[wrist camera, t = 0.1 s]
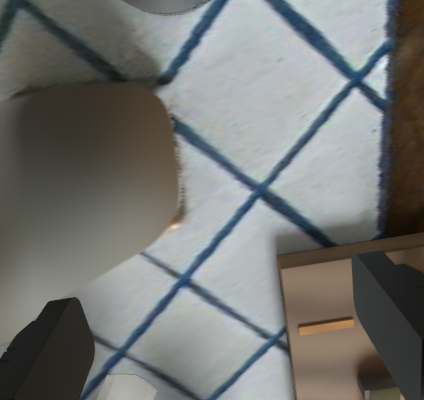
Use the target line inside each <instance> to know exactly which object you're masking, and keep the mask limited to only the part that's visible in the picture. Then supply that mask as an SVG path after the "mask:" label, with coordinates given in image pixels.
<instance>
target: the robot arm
mask: <svg viewBox="0 0 424 400" xmlns="http://www.w3.org/2000/svg"><path fill="white" fill-rule="evenodd" d="M122 1H124V2H126V3H128V4H130V5H132V6H134V7H136V8H138V9H140V10H141V11H145V12H148V13H152V14H158V15H164V16H168V15H181V14H184V13H187V12H191V11H194V10H196V9H198V8H200V7H201V6H203V5H205V4H206V3H208V2H210V1H211V0H122ZM351 264H352V282H353V299H354V306H355V310H356V314H357V316H358V319H359V321H360V323H361V325H362V326H363V328H364V330H365V332H366V333H367V335H368V337H369V338H370V340H371V342H372V344H373V345H374V347H375V349H376V350H377V352H378V354H379V356H380V357H381V359H382V361H383V363H384V364H385V366H386V368H387V369H388V371H389V373H390V375H391V376H392V378H393V380H394V381H395V383H396V385H397V387H398V388H399V390H400V392H401V393H402V395H403V397H404V399H405V400H424V273H422V272H421V271H419V270H417V269H415V268H413V267H411V266H409V265H407V264H405V263H404V264H397V265H395V264H394V262H393V261H392V260H391V259H390V258H389V257H388V256H387V255H386V254H385V253H384V252H383V251H382V250H381V249H377V250H371V251H364V252H358V253H353V254H352V258H351ZM94 354H95V346H94V340H93V337H92V334H91V331H90V328H89V325H88V323H87V320H86V317H85V314H84V311H83V309H82V306H81V303H80V301H79V300H78V299H77V298H76V297H73V298H66V299H60V300H54V301H50V302H48V303H47V304H46V306H45V307H44V309H43V310H42V312H41V313H40V315H39V316H38V318H37V319H36V321H32V322H31V323H30V324H28V325H27V326H26V327H25V328H24V329H23V330H22V331H20V332H19V333H18V334H17V335H16V336H15V338H14V339H13V341H12V342H11V344H10V345H9V347H8V348H7V352H4V354H3V355H2V357H1V358H0V400H79V398H80V395H81V392H82V390H83V387H84V384H85V382H86V379H87V376H88V374H89V371H90V369H91V366H92V363H93V360H94Z"/></svg>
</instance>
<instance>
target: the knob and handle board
mask: <svg viewBox="0 0 424 400" xmlns="http://www.w3.org/2000/svg"><path fill="white" fill-rule="evenodd" d="M377 249H381V250H382V251H383V252H384V253H385V254H386V255H387V256H388V257H389V258H390V259H391V260H392V261H393V262H394V264H395V265H397V264H404V263H405V264H407V265H409V266H411V267H413V268H415V269H417V270H419V271H421V272H422V273H423V272H424V232H422V233H416V234H410V235H404V236H397V237H391V238H385V239H379V240H372V241H366V242H360V243H354V244H347V245H341V246H335V247H329V248H322V249H316V250H310V251H304V252H297V253H291V254H285V255H279V256H277V263H278V271H279V278H280V286H281V294H282V302H283V310H284V318H285V326H286V334H287V341H288V349H289V357H290V365H291V373H292V381H293V389H294V397H295V400H405V399H404V397H403V395H402V393H401V392H400V390H399V388H398V387H397V385H396V383H395V381H394V380H393V378H392V376H391V375H390V373H389V371H388V369H387V368H386V366H385V364H384V363H383V361H382V359H381V357H380V356H379V354H378V352H377V350H376V349H375V347H374V346H373V344H372V342H371V341H370V339H369V337H368V335H367V333H366V332H365V330H364V328H363V326H362V325H361V323H360V321H359V319H358V316H357V314H356V310H355V306H354V299H353V282H352V264H351V258H352V254H353V253H358V252H364V251H371V250H377Z"/></svg>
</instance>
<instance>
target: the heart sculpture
mask: <svg viewBox="0 0 424 400" xmlns="http://www.w3.org/2000/svg"><path fill="white" fill-rule="evenodd" d="M157 392H158V390H157V389H155V388H154V387H153V386H152V385H151V384H150V383H148V382H147V381H146V380H144V379H142V378H141V377H139V376H137V375H129V374H116V375H107V376H106V379H105V381H104V383H103V385H102V387H101V390H100V392H99V394H98V396H97V398H96V400H153V399H154V397H155V395H156V393H157Z"/></svg>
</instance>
